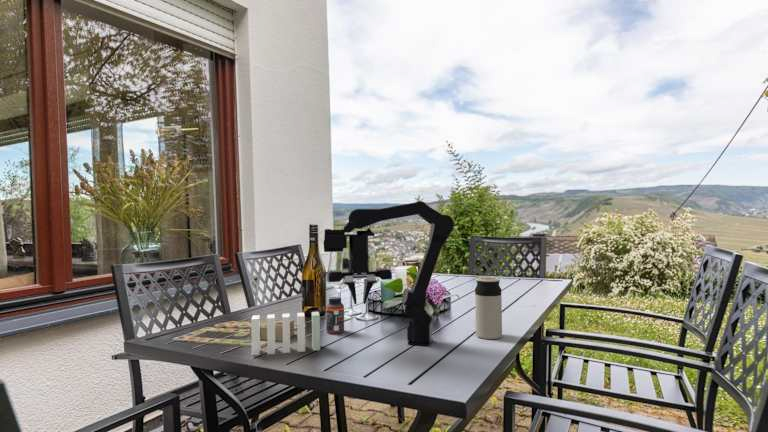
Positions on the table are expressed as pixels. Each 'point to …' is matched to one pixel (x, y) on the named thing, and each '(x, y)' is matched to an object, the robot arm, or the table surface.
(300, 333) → the domino
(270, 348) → the domino
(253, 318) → the domino
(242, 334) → the pile of dominoes
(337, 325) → the supplement bottle
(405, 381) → the table surface
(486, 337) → the travel mug
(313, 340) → the domino
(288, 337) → the domino
